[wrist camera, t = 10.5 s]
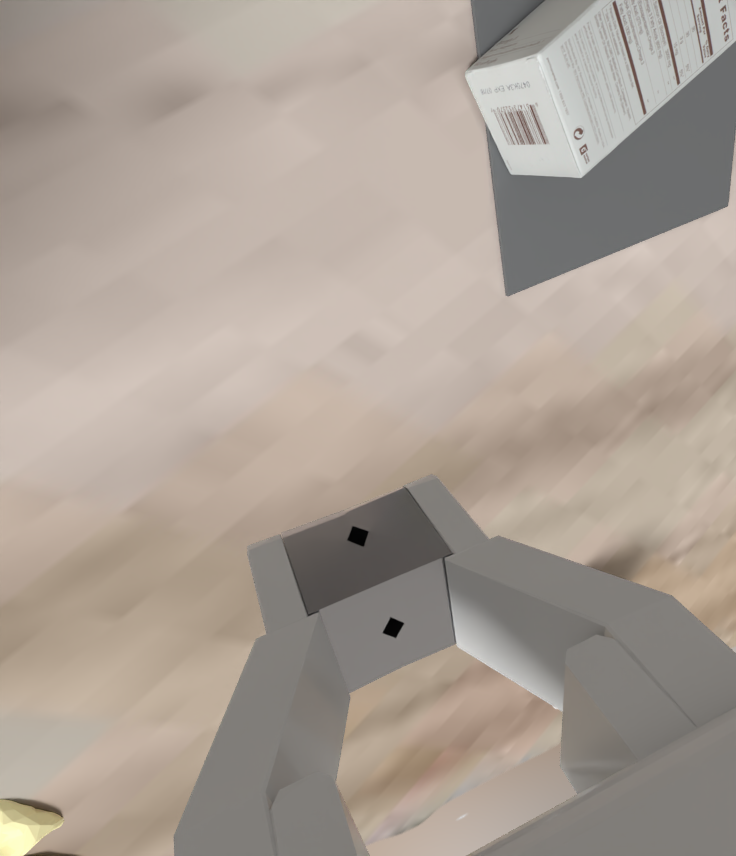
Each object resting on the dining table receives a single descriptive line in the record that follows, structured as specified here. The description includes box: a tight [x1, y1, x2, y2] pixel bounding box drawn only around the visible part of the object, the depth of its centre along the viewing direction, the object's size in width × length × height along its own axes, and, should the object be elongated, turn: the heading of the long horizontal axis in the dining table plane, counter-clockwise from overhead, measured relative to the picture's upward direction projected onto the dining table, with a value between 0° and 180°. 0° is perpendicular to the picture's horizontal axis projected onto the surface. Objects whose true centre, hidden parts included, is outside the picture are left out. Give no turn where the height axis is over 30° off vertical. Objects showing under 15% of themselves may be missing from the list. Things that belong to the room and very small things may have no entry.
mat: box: [471, 0, 736, 296], centre depth 38 cm, size 22×20×1 cm
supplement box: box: [465, 0, 736, 178], centre depth 32 cm, size 7×7×13 cm
